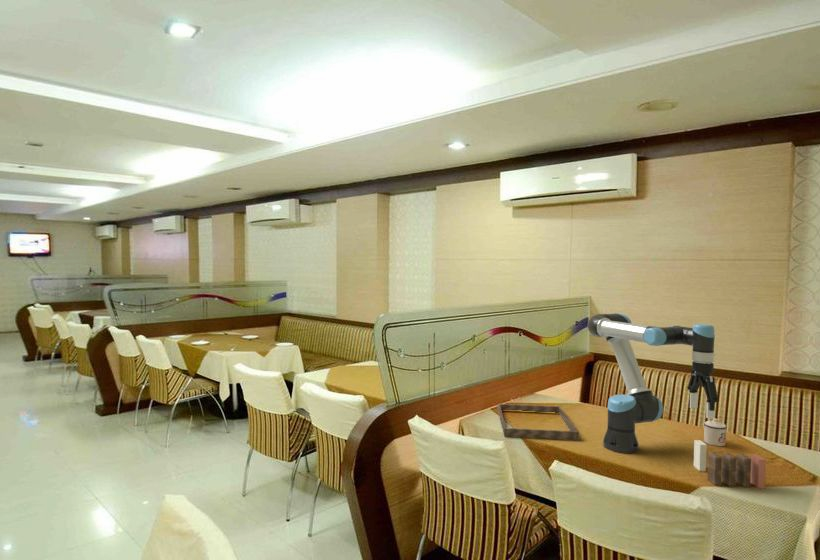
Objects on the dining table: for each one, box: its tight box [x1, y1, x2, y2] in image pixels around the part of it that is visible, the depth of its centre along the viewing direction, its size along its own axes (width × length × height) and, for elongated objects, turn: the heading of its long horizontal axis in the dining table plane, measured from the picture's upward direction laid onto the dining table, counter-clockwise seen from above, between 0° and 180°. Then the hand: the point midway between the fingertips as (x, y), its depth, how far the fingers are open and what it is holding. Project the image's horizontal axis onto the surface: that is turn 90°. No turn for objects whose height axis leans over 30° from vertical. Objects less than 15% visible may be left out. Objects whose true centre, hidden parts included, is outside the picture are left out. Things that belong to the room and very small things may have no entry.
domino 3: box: [721, 452, 737, 488], centre depth 182 cm, size 2×5×11 cm, turn 174°
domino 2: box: [707, 451, 722, 487], centre depth 182 cm, size 2×5×11 cm, turn 174°
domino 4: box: [736, 453, 751, 488], centre depth 181 cm, size 2×5×11 cm, turn 174°
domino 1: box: [693, 439, 707, 472], centre depth 195 cm, size 2×5×11 cm, turn 174°
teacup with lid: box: [703, 417, 727, 447], centre depth 226 cm, size 12×9×12 cm
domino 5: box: [750, 453, 767, 489], centre depth 181 cm, size 2×5×11 cm, turn 174°
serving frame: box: [497, 403, 579, 441], centre depth 249 cm, size 35×42×4 cm
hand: (701, 413), depth 195 cm, fingers open, 13 cm apart
